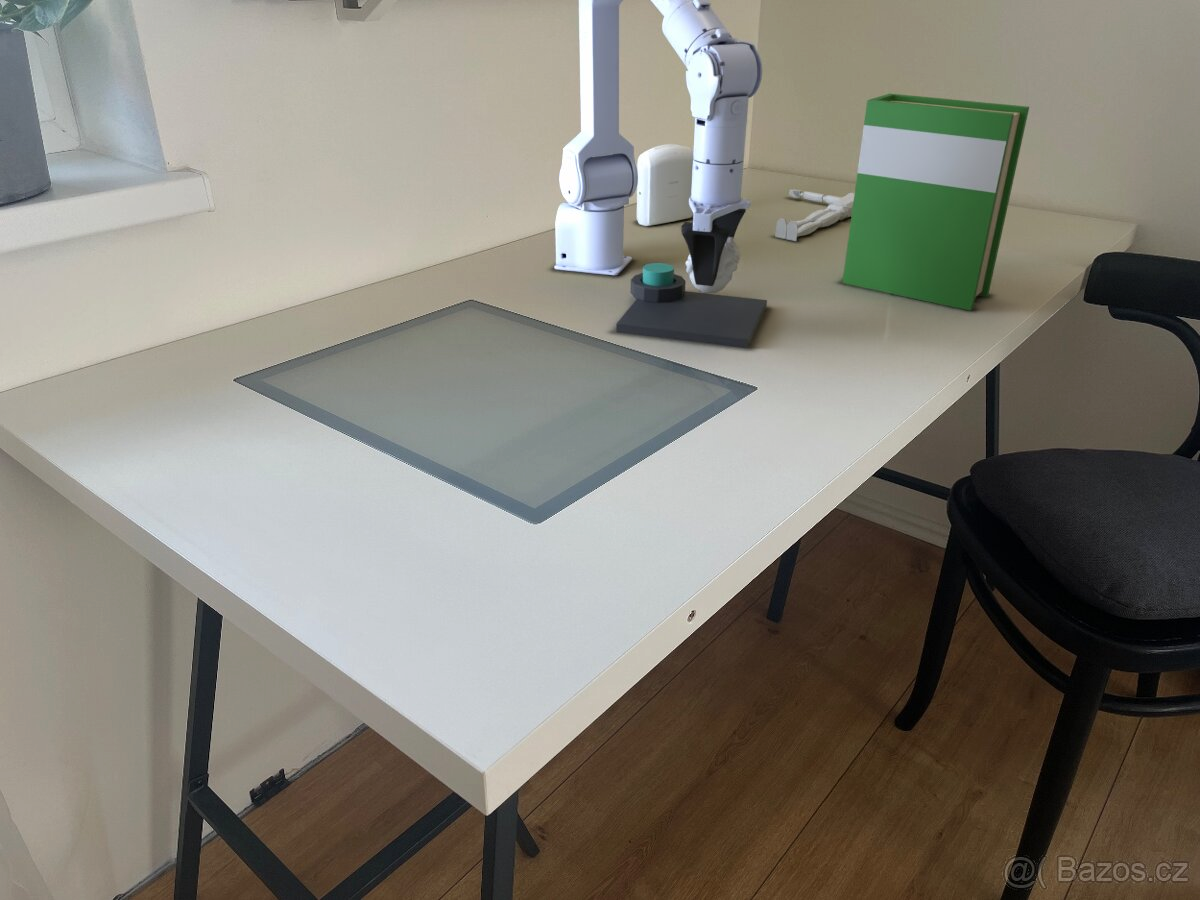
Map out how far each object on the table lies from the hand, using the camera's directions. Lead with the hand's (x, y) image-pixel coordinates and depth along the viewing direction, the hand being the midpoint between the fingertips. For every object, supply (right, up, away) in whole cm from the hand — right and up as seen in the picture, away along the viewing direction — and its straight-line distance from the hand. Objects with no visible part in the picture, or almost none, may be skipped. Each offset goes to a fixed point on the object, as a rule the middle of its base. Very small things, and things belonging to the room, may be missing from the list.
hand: (710, 275), depth 111 cm
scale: (-2, -4, +5) cm, 7 cm away
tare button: (-6, +1, +9) cm, 11 cm away
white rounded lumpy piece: (0, -2, +1) cm, 2 cm away
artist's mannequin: (+26, +18, +45) cm, 55 cm away
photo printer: (-2, +18, +45) cm, 49 cm away
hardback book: (+30, +1, +15) cm, 33 cm away
